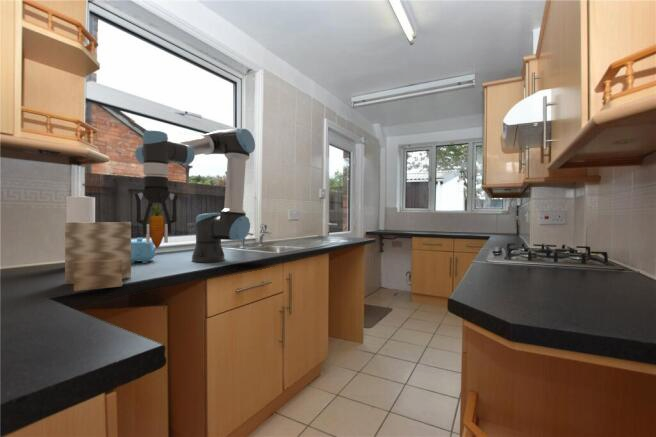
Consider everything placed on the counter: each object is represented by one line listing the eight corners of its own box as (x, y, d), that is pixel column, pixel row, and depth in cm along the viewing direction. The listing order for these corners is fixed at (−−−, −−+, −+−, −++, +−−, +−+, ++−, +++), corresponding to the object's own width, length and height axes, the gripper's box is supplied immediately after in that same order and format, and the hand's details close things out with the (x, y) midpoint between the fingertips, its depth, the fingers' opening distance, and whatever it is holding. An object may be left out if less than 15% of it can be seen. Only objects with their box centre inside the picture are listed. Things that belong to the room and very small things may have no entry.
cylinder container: (79, 269, 126) (79, 195, 126) (60, 268, 128) (60, 195, 128) (100, 265, 136) (100, 196, 135) (82, 264, 138) (82, 196, 137)
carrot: (154, 246, 112) (153, 205, 112) (168, 247, 112) (167, 205, 111) (146, 248, 107) (145, 205, 107) (160, 248, 107) (159, 205, 106)
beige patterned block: (130, 277, 112) (130, 222, 112) (133, 284, 101) (133, 223, 101) (65, 283, 102) (65, 222, 102) (60, 292, 91) (60, 224, 91)
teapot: (160, 258, 157) (160, 236, 157) (154, 264, 140) (154, 239, 140) (123, 260, 151) (123, 236, 151) (112, 266, 135) (113, 240, 134)
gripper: (181, 178, 117) (182, 240, 118) (124, 175, 107) (126, 243, 108) (186, 177, 111) (186, 242, 112) (125, 173, 100) (127, 245, 101)
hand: (157, 242), depth 110 cm, fingers closed on carrot, 5 cm apart
